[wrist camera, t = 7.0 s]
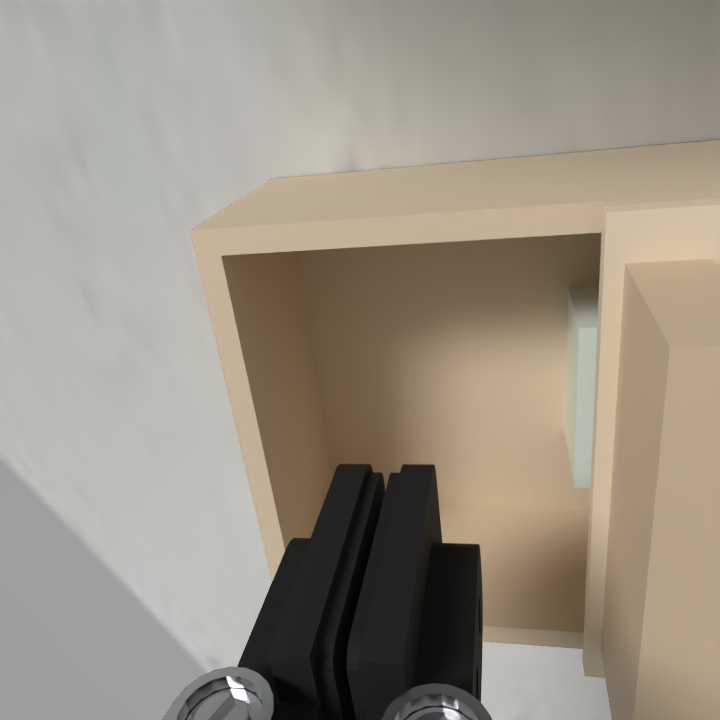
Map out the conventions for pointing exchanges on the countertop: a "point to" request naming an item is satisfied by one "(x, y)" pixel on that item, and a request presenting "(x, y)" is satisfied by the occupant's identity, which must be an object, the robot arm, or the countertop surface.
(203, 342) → the countertop surface
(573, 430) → the soap bar
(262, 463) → the mailer box
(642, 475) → the lid
